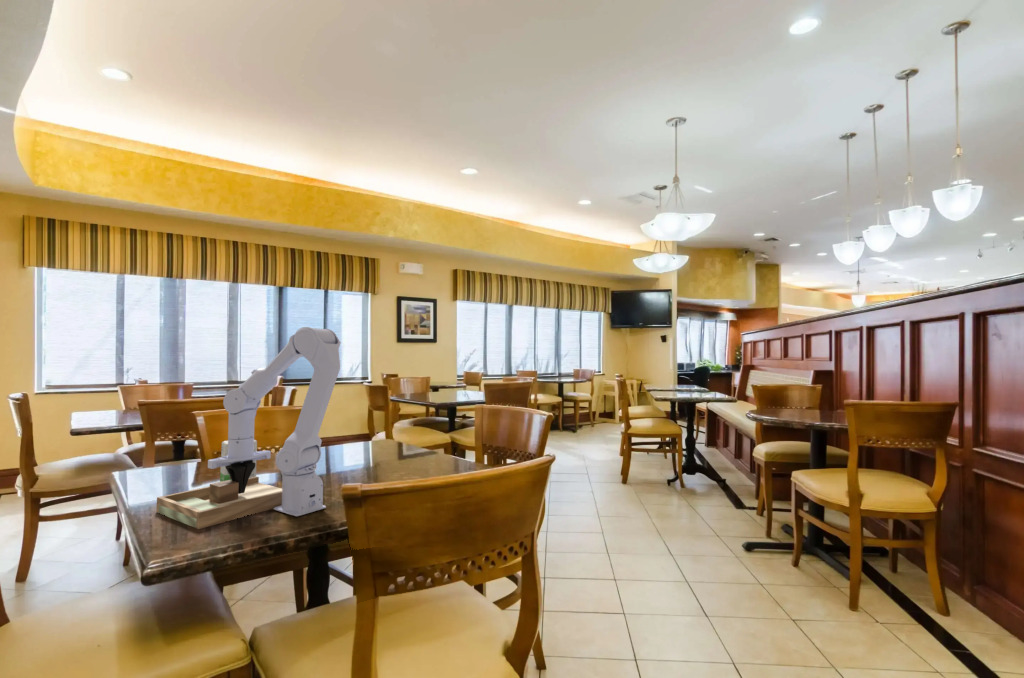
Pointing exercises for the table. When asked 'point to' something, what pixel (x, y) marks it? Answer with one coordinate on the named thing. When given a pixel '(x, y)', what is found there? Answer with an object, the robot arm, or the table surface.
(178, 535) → the table surface
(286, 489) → the robot arm
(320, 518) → the table surface
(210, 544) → the table surface
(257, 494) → the board
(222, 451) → the ink box
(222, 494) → the walnut block
